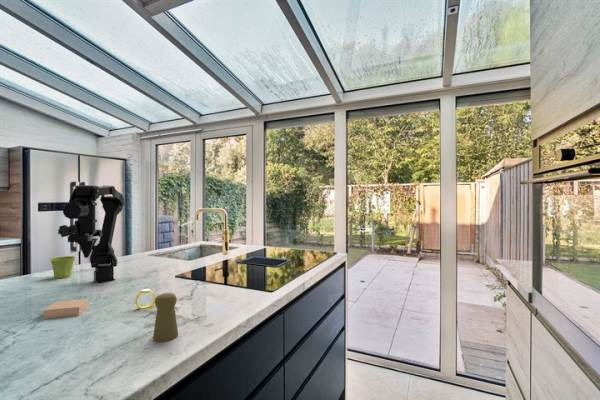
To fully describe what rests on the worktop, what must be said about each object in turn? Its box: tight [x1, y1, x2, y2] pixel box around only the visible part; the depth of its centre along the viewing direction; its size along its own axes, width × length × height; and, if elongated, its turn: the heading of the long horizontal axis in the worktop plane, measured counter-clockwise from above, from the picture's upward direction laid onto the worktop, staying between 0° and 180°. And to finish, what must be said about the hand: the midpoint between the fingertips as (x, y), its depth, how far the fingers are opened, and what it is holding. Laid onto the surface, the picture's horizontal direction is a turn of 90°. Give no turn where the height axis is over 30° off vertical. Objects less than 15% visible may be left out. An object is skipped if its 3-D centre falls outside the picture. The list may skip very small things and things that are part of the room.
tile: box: [43, 298, 89, 320], centre depth 97 cm, size 3×9×8 cm
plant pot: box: [49, 255, 77, 279], centre depth 141 cm, size 9×9×9 cm
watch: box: [134, 288, 157, 310], centre depth 101 cm, size 6×3×6 cm, turn 127°
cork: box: [152, 292, 179, 343], centre depth 80 cm, size 6×6×11 cm
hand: (86, 257), depth 119 cm, fingers closed
